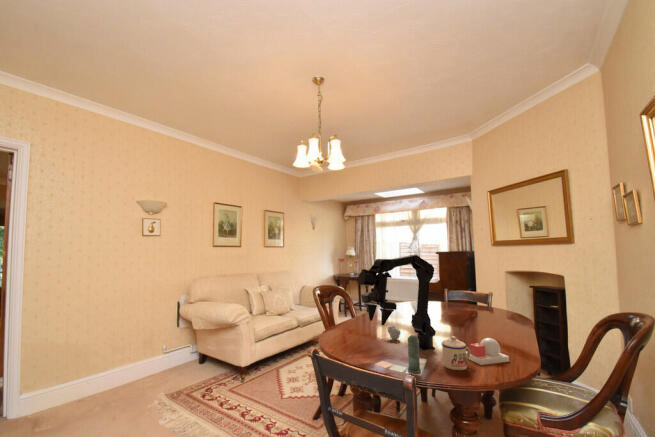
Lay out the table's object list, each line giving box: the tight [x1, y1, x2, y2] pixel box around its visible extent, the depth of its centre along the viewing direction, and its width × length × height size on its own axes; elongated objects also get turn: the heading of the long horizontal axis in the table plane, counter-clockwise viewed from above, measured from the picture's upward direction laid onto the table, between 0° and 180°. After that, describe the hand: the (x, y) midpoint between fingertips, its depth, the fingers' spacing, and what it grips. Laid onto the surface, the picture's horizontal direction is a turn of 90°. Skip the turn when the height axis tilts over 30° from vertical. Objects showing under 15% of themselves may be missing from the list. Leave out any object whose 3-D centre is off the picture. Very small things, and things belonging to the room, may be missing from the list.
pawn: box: [407, 334, 422, 375], centre depth 113 cm, size 5×5×13 cm
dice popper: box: [466, 337, 510, 366], centre depth 127 cm, size 14×10×8 cm
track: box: [374, 357, 428, 377], centre depth 117 cm, size 23×17×1 cm
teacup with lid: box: [441, 335, 470, 371], centre depth 119 cm, size 12×9×12 cm
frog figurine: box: [386, 324, 401, 341], centre depth 155 cm, size 6×7×7 cm
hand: (376, 322), depth 132 cm, fingers open, 9 cm apart
